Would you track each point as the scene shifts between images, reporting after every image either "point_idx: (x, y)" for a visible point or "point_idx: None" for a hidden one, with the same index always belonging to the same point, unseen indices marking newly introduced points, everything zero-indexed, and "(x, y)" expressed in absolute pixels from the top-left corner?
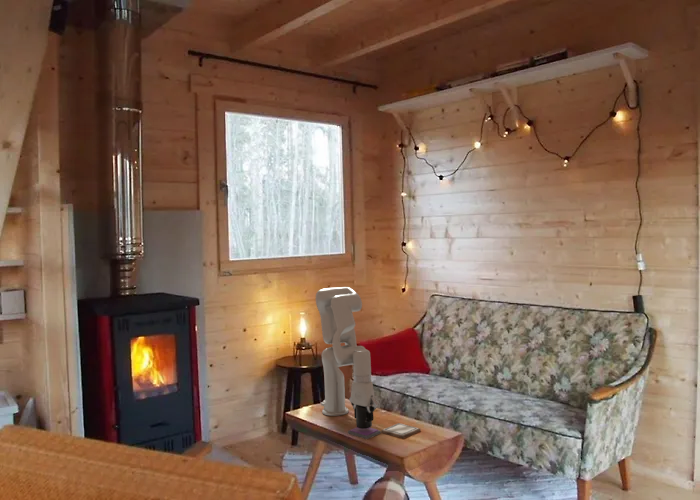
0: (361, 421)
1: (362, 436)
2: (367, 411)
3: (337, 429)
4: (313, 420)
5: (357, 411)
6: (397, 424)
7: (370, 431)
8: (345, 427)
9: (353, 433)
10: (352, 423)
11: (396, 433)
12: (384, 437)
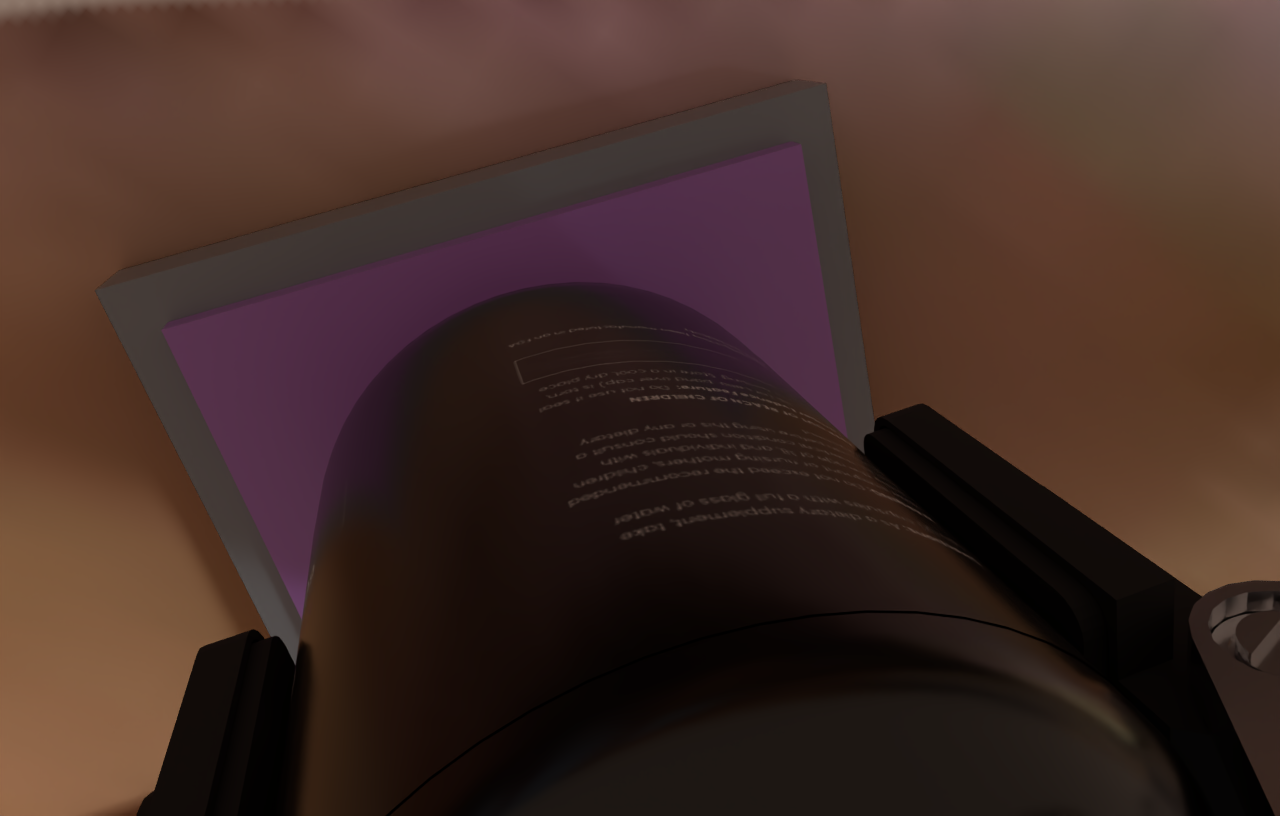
0: (406, 434)
1: (269, 232)
2: None
3: (1187, 35)
4: None
5: (707, 560)
6: None
7: None
8: (1141, 266)
9: (609, 138)
10: (1192, 497)
11: None
12: (26, 684)
